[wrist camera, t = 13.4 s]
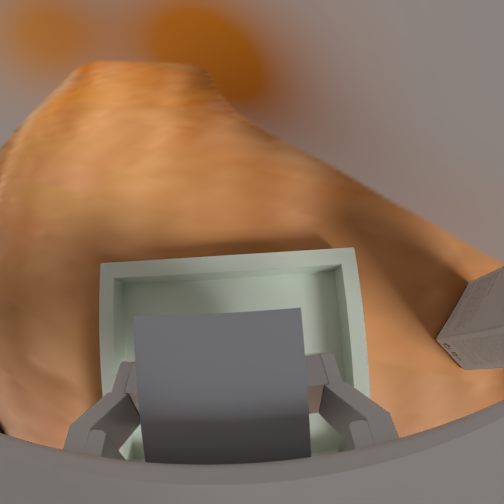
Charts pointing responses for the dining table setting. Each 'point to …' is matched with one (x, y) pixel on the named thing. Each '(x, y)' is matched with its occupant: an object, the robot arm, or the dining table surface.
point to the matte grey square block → (222, 387)
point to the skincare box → (477, 324)
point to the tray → (241, 310)
